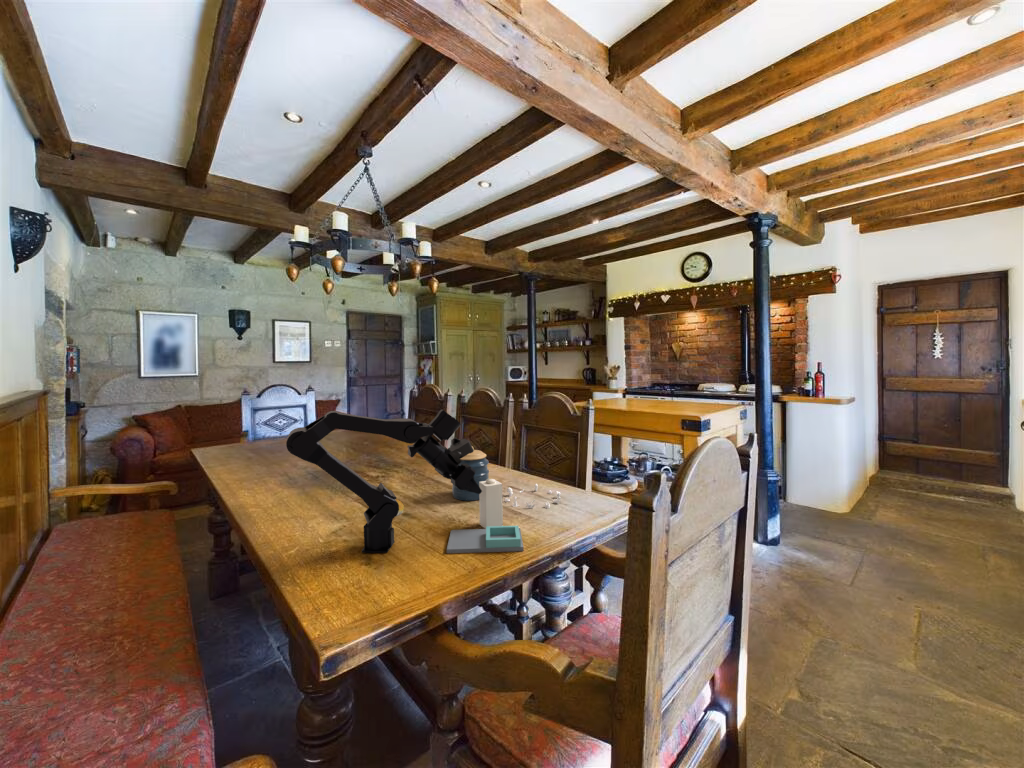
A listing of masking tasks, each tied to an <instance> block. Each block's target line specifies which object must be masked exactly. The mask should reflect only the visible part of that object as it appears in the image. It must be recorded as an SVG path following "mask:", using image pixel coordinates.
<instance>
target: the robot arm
mask: <svg viewBox="0 0 1024 768" xmlns="http://www.w3.org/2000/svg"><path fill="white" fill-rule="evenodd" d="M460 427H461V423H460V422H459V420H457V418H455V417H454V416H451V414H449V413H448V412H447V411H445V410H444V409H440V410H439V411H438V412H437V413H436V416H435V417H433V418H432V420H431V421H430V422H429V423H425V422H417V421H415V420H413V419H411V418H406V417H405V418H402V417H401V418H388V419H387V418H386V419H383V418H378V417H377V418H376V417H372V416H371V417H370V416H363V415H359V414H357V415H356V414H351V413H350V414H349V413H344V412H339V411H337V410H331V411H327V412H326V413H325V414H324V415H323V416H322V417H319V418H318V419H316V420H314V421H312V422H310V423H309V424H307V425H306V426H304V427H302V426H301V427H295V428H294V429H292V430H291V431H290V432H289V433H288V435H287V439H286V441H285V442H286V443H285V444H286V445H285V446H286V449H287V451H288V452H289V454H291V455H293V456H295V457H297V458H299V459H301V460H302V461H304V462H308V463H311V464H314V465H316V466H317V467H319V468H320V469H321V470H323V471H324V472H325V473H327V474H328V475H330V476H331V477H332V478H333V479H335V480H336V481H337V482H339V483H340V484H342V486H344V487H346V488H347V489H348V490H350V491H351V492H352V493H354V494H355V495H356V496H358V497H359V498H360V499H361V500H363V502H364V504H365V505H367V508H366V509H365V511H364V512H363V515H364V518H365V524H364V525H363V545H364V546H363V548H362V549H361V553H368V554H370V553H371V554H374V553H375V554H376V553H377V554H381V553H382V554H386V553H388V552H389V551H390V549H391V548H392V546H394V544H395V543H396V542H395V527H393V520H394V519H395V518H396V517H397V516H396V515H397V514H398V511H399V504H398V502H397V501H396V500H397V497H396V496H397V495H395V493H394V491H393V490H391V489H389V488H387V487H386V486H385V485H384V484H383V483H382V482H380V483H379V484H378V486H376V485H374V484H371V483H370V482H369V481H367V480H366V479H365V478H363V476H361V475H359V473H357V472H356V471H355V470H354V469H352V468H350V467H349V466H348V465H347V464H345V463H344V462H343V461H341V460H340V459H338V457H336V456H335V454H334V455H333V454H332V453H331V452H330V451H328V449H327V448H326V447H325V446H324V444H323V443H322V442H321V441H322V440H323V439H324V438H326V436H328V435H329V434H331V432H333V431H335V430H345V431H351V432H358V433H359V432H360V433H366V434H373V435H374V434H375V435H382V436H385V437H388V438H391V439H393V440H396V441H399V442H403V443H406V444H407V446H406V447H407V455H408V456H409V457H410V458H414V457H415V455H417V454H418V455H420V457H421V458H423V459H424V460H425V461H426V462H427V463H428V464H429V465H431V466H432V467H433V468H434V471H435V472H437V473H438V474H439V475H440V476H442V477H443V478H445V479H448V480H450V483H451V484H452V486H453V485H454V486H456V487H457V488H458V489H459V490H465V491H469V492H473V493H477V494H480V493H481V492H482V490H481V489H480V487H479V486H478V484H477V483H476V481H475V479H474V475H475V470H474V469H473V468H472V467H471V466H469V465H467V464H462V465H461V466H459V464H460V463H461V462H462V460H461V459H460V458H463V457H464V456H466V455H468V454H469V453H472V452H473V451H474V450H475V449H474V450H473V448H474V447H473V448H472V446H473V445H472V444H471V442H470V440H468V439H467V438H461V439H459V438H457V437H454V438H452V439H451V441H450V443H451V444H450V445H449V447H448V448H447V447H446V446H443V444H441V443H440V442H439V441H441V442H442V441H448V440H450V438H451V437H452V436H453V435H454V433H456V431H457V430H458V429H459V428H460ZM434 436H435V437H436V438H437V439H438V440H439V441H438V440H437V439H436V438H435V437H434ZM408 444H409V445H408ZM410 444H411V445H410Z"/></svg>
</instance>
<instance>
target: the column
mask: <svg viewBox="0 0 1024 768" xmlns="http://www.w3.org/2000/svg"><path fill="white" fill-rule="evenodd" d="M479 487H480V489H481V490H482V492H481V493H480V494H479V500H478V501H479V503H478V504H479V505H478V506H479V525H480V526H481V527H482V528H483V529H486V526H504V525H503V524H504V521H503V520H504V519H503V517H504V516H503V514H504V512H503V507H504V506H503V483H502V482H500V481H498V480H497V479H495V478H489V479H487V480H486V481H481V482H479Z"/></svg>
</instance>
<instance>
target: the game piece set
mask: <svg viewBox="0 0 1024 768" xmlns="http://www.w3.org/2000/svg"><path fill="white" fill-rule="evenodd" d="M538 489H539V485H538V483H534V491H535V492H538ZM524 490H525V487H523V488H522V490H519V493H524ZM506 492H507V493H508V494H509V495H508V498H507V497H506V498H504V502H505V503H506V502H508V503H509V502H511V499H510V497H512V496H513V494H514V492H513V489H512V488H511V487H508V488H506ZM547 492H548V493H547V494H549V495H552V493H553V491H552V490H551V489H549V490H548V491H547ZM555 492H556V497H555V498H556V499H552V502H553V503H554V504H559V503H560V502H561V499H562V497H561V492H560V491H555ZM513 499H514V501H513V503H511V506H512V507H515V508H517V507H519V503H518V501H517V499H518V498H517V496H516V495H514V497H513ZM534 502H536V500H535V499H533V500H532V501H531V502H529V503H528V501H526V506H525V508H528V509H533V508H534V507H535V506H536V504H533V503H534ZM544 508H545V509H550V508H551V505H550V502H549V501H546V502H545V503H544Z"/></svg>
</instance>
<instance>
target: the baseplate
mask: <svg viewBox="0 0 1024 768" xmlns="http://www.w3.org/2000/svg"><path fill="white" fill-rule="evenodd" d="M503 552H505V553H507V552H524V542H523V536H522V531H521V527H519V525H503V526H486V529H485V528H478V529H477V528H475V529H473V528H469V529H468V528H467V529H451V530H450V534H449V538H448V543H447V546H446V554H470V553H472V554H473V553H503Z"/></svg>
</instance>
